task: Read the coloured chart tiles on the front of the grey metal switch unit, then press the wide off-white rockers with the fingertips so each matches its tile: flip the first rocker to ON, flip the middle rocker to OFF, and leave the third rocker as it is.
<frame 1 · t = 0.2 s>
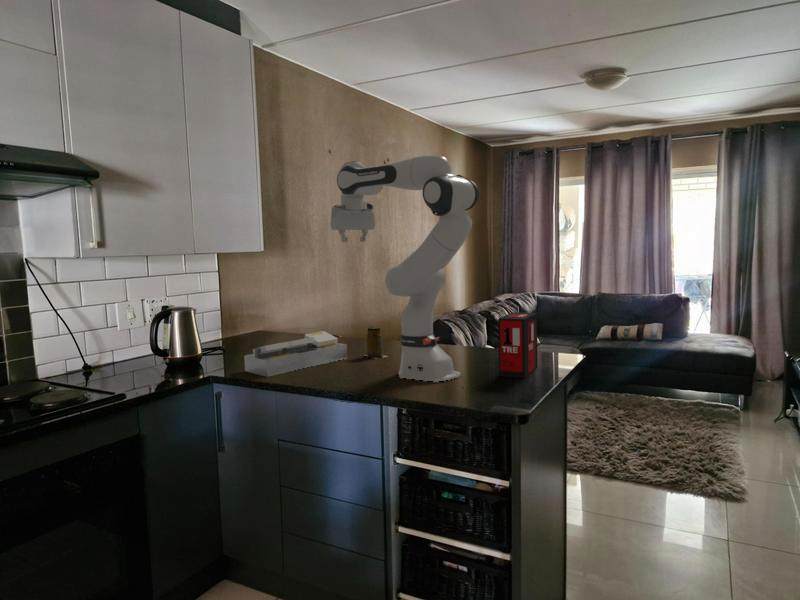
hand: (353, 241, 213), 47 cm above the worktop, tool pointing down, fingers open, 8 cm apart
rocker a: (321, 338, 225), point 9 cm above the worktop, hinge at -15.0°
rocker b: (297, 343, 216), point 9 cm above the worktop, hinge at 15.0°
cleaning product box: (518, 372, 195), on the worktop
switch unit: (298, 364, 217), on the worktop
rocker c: (271, 347, 208), point 9 cm above the worktop, hinge at 15.0°
condiment: (375, 357, 229), on the worktop
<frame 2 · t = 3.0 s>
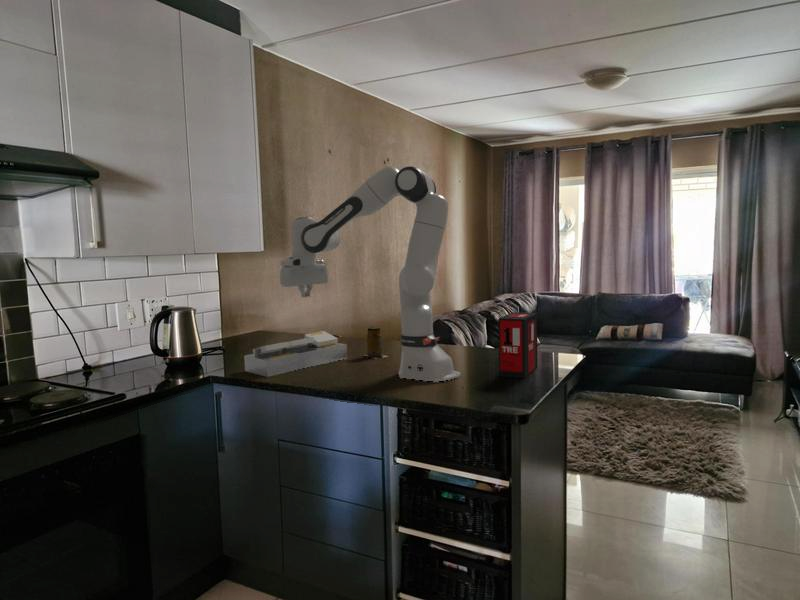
hand: (305, 297, 210), 27 cm above the worktop, tool pointing down, fingers closed
nothing on the worktop moved.
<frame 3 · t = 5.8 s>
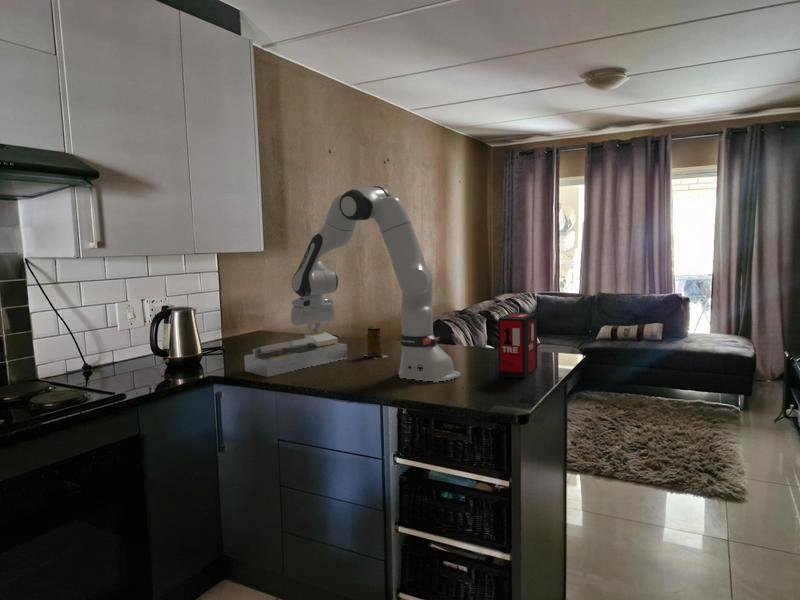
hand: (314, 333, 228), 10 cm above the worktop, tool pointing down, fingers closed, pressing on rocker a
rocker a: (321, 338, 225), point 9 cm above the worktop, hinge at -12.7°, touching gripper
everything else where it was.
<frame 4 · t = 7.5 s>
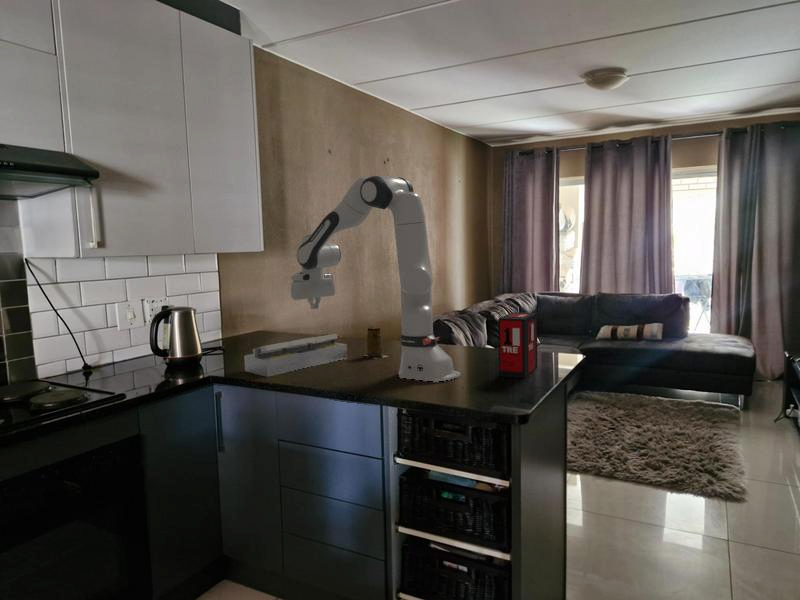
hand: (314, 308, 226), 21 cm above the worktop, tool pointing down, fingers closed
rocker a: (321, 338, 225), point 9 cm above the worktop, hinge at 11.5°
everything else where it was.
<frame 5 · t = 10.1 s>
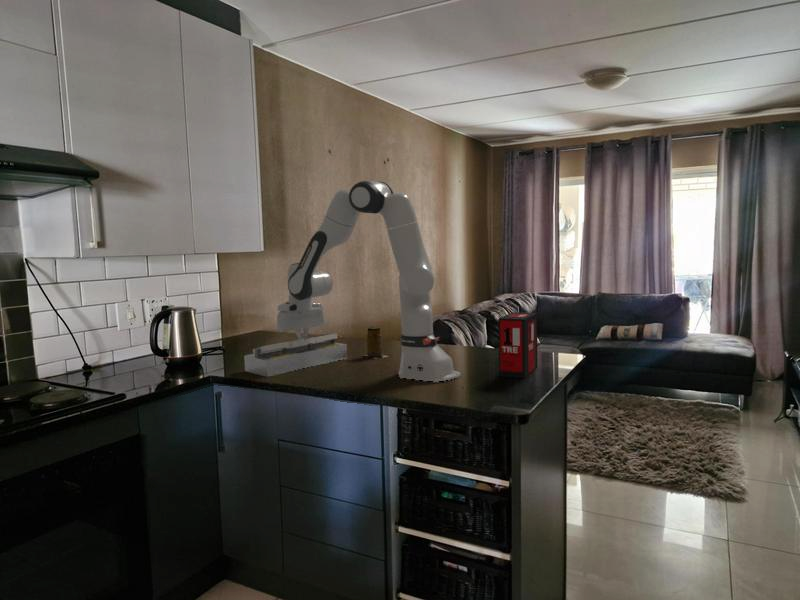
hand: (302, 340, 213), 10 cm above the worktop, tool pointing down, fingers closed, pressing on rocker b
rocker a: (321, 338, 225), point 9 cm above the worktop, hinge at 12.8°
rocker b: (297, 343, 216), point 9 cm above the worktop, hinge at 13.2°, touching gripper
everything else where it was.
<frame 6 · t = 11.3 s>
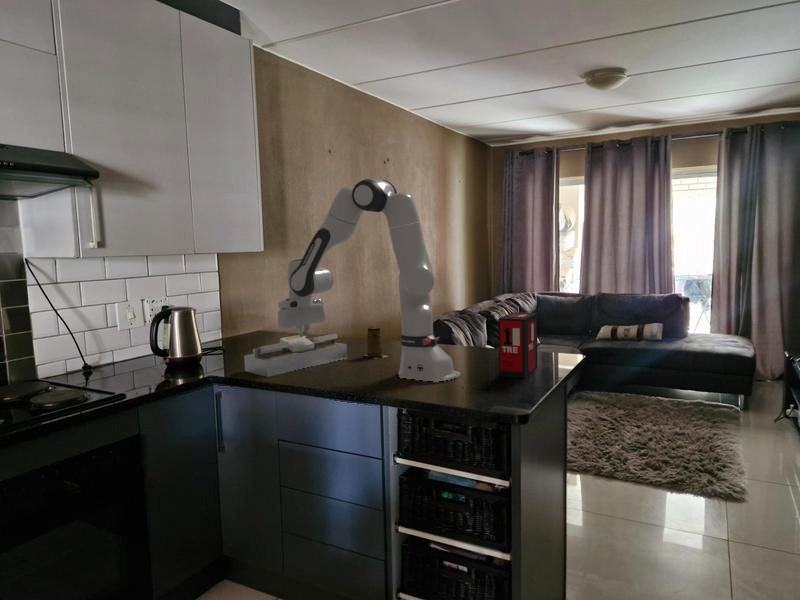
hand: (303, 336, 214), 11 cm above the worktop, tool pointing down, fingers closed
rocker b: (297, 343, 216), point 9 cm above the worktop, hinge at -17.4°
everything else where it was.
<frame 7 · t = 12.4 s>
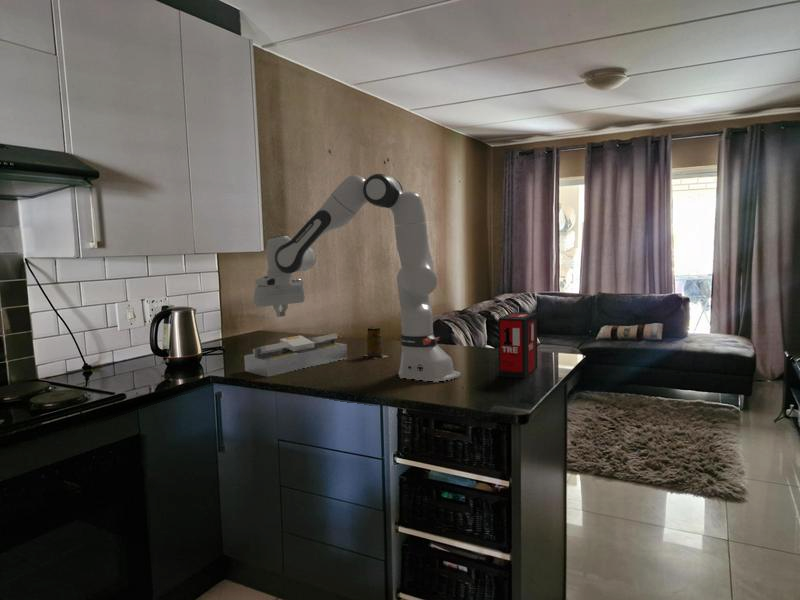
hand: (280, 316, 207), 20 cm above the worktop, tool pointing down, fingers closed
rocker b: (297, 343, 216), point 9 cm above the worktop, hinge at -13.2°
everything else where it was.
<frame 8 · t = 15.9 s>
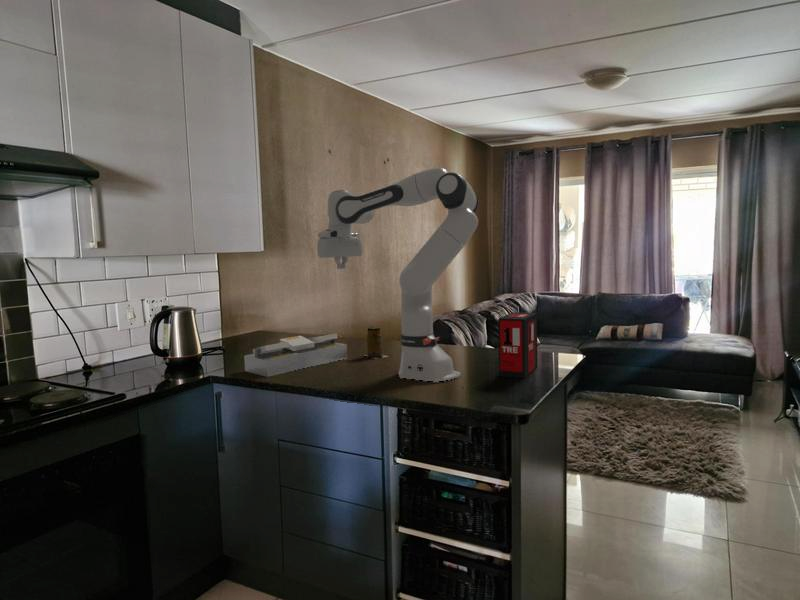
hand: (341, 268, 216), 37 cm above the worktop, tool pointing down, fingers closed
rocker b: (297, 343, 216), point 9 cm above the worktop, hinge at -12.0°
everything else where it was.
at the end: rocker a at +13° (first picture: -15°); rocker b at -12° (first picture: +15°); rocker c at +15° (first picture: +15°) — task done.
